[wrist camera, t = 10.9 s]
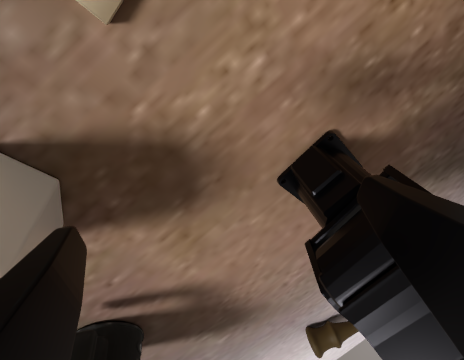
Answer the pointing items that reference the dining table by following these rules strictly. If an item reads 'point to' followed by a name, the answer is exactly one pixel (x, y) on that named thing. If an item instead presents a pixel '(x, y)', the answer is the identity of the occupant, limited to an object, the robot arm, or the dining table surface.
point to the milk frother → (108, 342)
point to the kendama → (329, 336)
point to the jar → (25, 210)
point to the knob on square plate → (102, 8)
